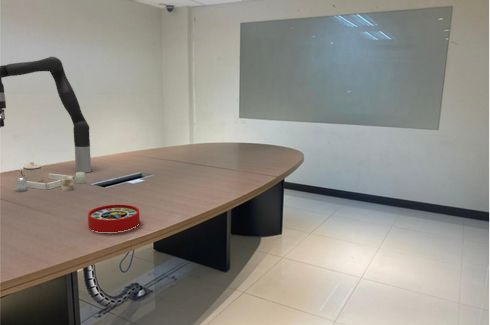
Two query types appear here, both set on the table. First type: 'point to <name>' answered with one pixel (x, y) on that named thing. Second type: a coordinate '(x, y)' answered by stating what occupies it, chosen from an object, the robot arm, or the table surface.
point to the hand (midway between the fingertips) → (0, 127)
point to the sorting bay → (49, 185)
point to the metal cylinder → (21, 184)
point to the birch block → (66, 184)
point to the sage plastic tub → (80, 177)
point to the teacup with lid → (32, 172)
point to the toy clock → (113, 218)
